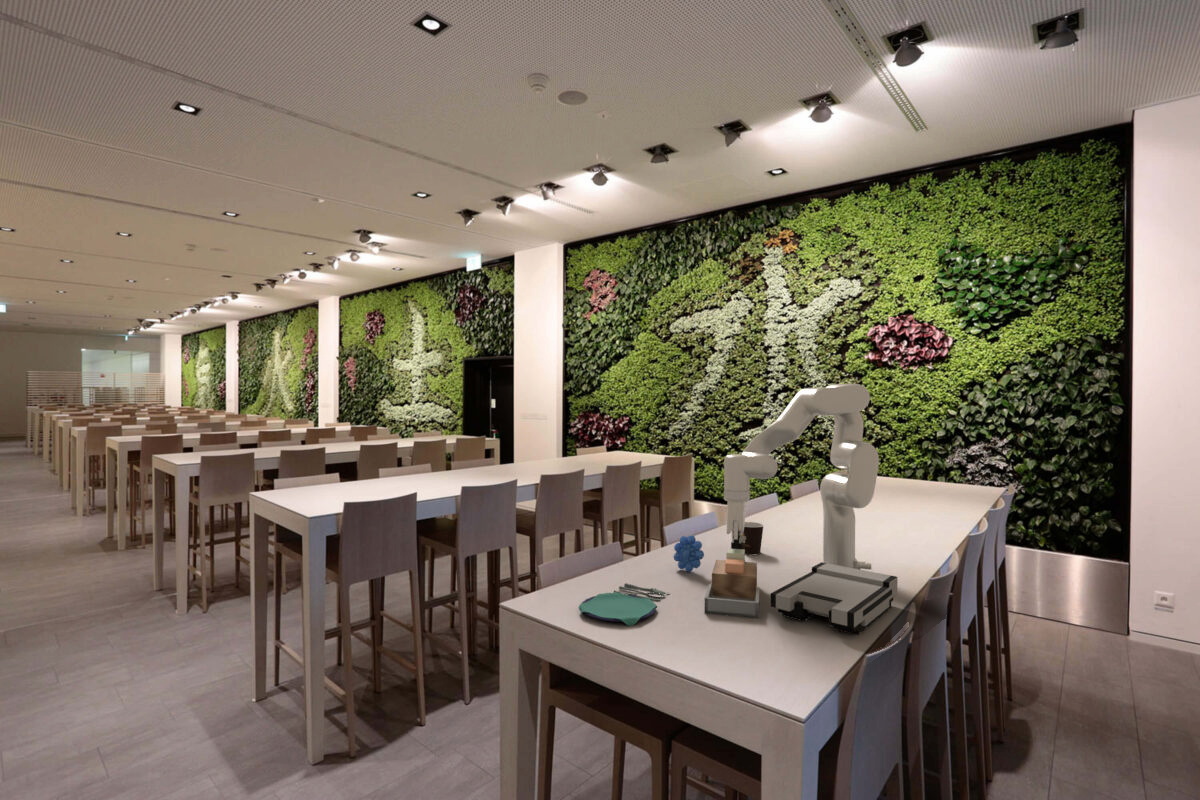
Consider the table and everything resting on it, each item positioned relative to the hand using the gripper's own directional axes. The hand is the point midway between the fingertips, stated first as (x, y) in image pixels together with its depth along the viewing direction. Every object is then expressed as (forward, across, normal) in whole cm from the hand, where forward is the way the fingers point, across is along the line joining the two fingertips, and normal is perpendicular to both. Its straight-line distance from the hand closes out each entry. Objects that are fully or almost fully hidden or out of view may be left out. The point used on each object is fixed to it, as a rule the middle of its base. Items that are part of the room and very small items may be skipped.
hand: (736, 555), depth 184 cm
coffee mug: (+8, -37, +3) cm, 38 cm away
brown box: (+8, +10, 0) cm, 13 cm away
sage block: (+1, +7, 0) cm, 7 cm away
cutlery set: (+9, +29, -27) cm, 41 cm away
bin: (+8, +23, 0) cm, 24 cm away
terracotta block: (+1, +12, 0) cm, 12 cm away
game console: (+8, +20, +26) cm, 34 cm away
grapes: (+8, -7, -15) cm, 18 cm away
